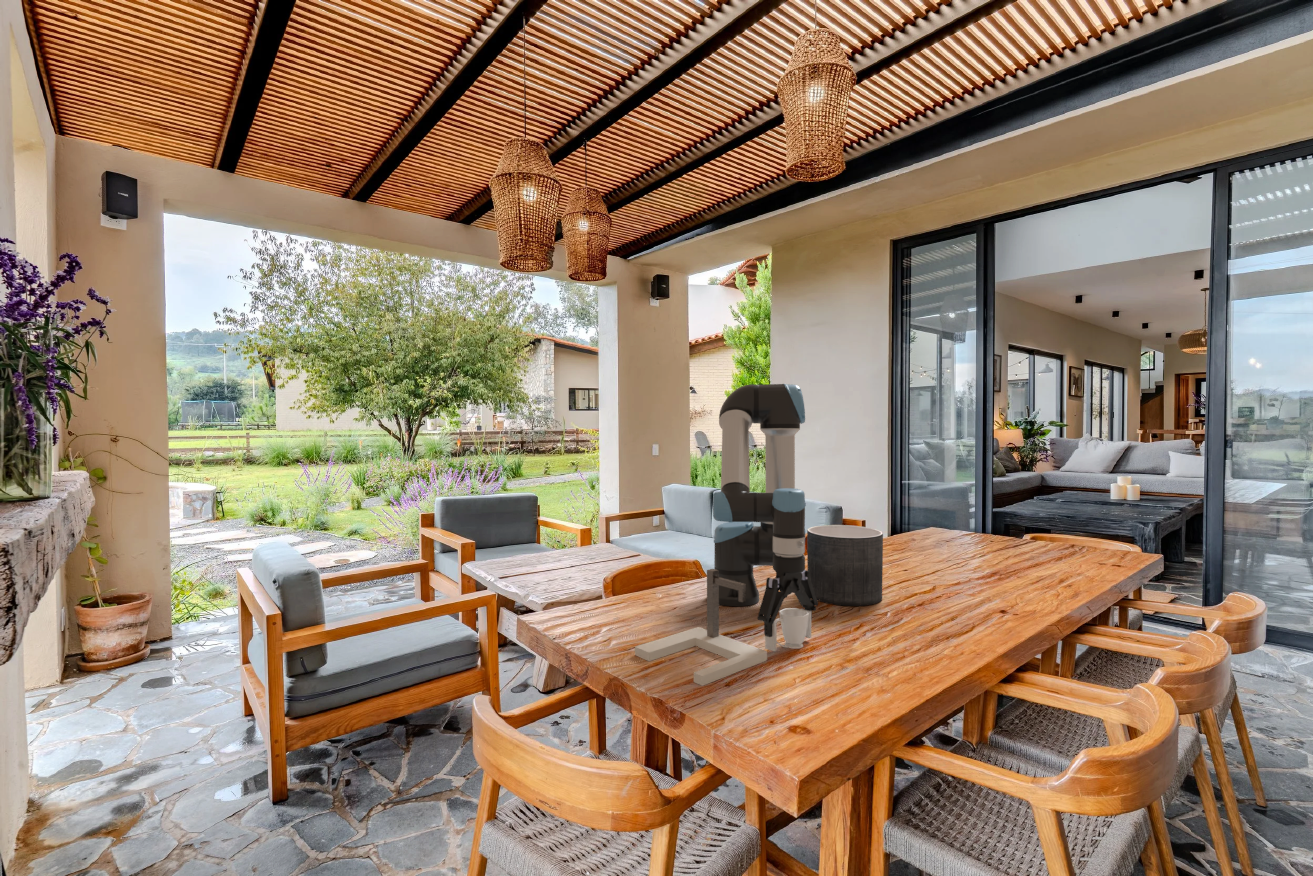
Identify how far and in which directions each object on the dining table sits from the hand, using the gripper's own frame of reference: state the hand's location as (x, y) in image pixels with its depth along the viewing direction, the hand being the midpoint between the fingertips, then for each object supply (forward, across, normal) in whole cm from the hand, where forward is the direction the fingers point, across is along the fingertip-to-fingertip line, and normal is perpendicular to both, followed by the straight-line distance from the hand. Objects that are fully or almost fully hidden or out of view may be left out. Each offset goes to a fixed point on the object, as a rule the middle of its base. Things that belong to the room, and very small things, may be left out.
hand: (788, 643), depth 147 cm
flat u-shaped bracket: (+1, -21, +9) cm, 23 cm away
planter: (+1, +47, +15) cm, 49 cm away
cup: (+1, 0, 0) cm, 1 cm away
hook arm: (-1, -12, +9) cm, 15 cm away
